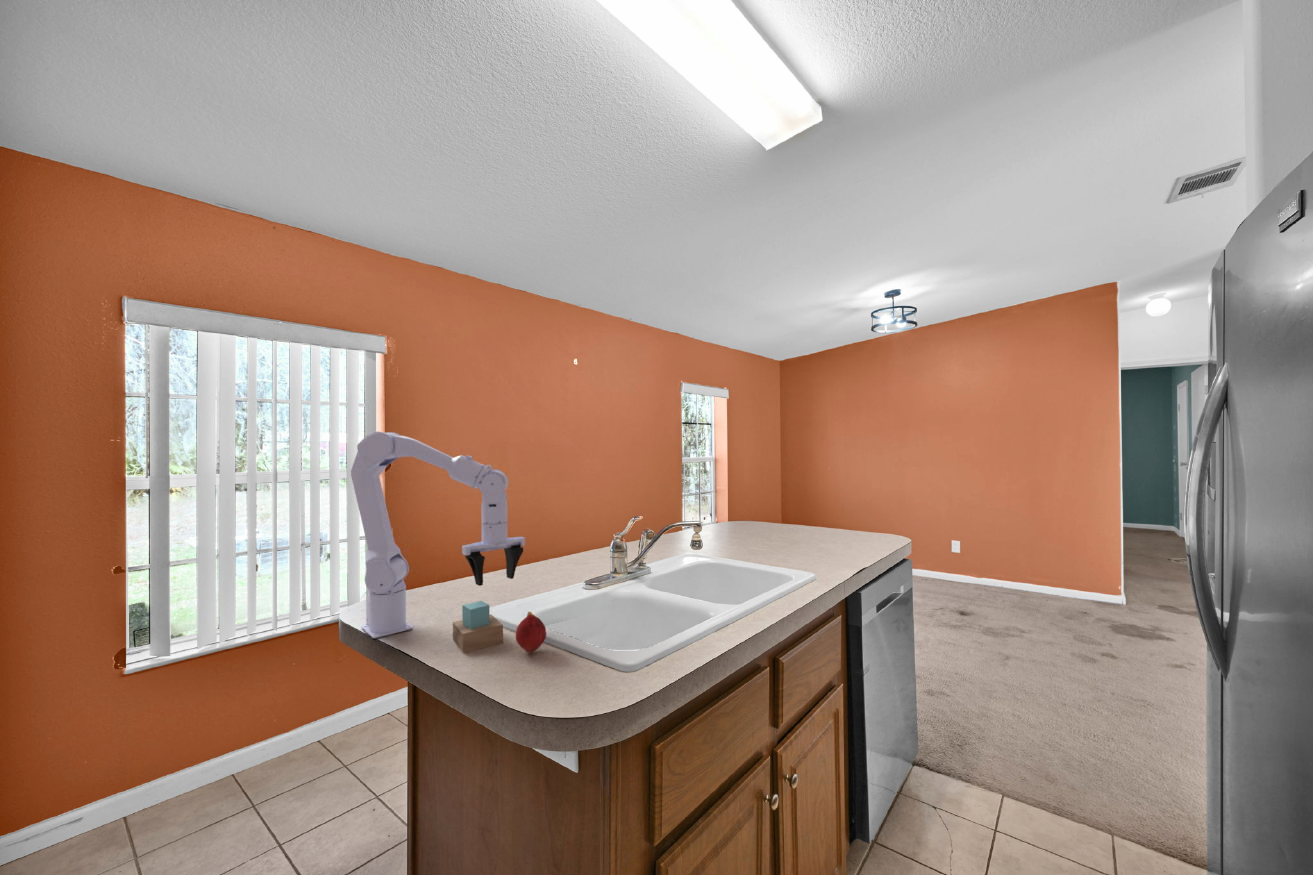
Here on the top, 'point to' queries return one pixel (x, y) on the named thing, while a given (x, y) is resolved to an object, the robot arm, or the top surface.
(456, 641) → the walnut block
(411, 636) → the top surface
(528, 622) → the onion
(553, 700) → the top surface
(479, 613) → the teal cube
